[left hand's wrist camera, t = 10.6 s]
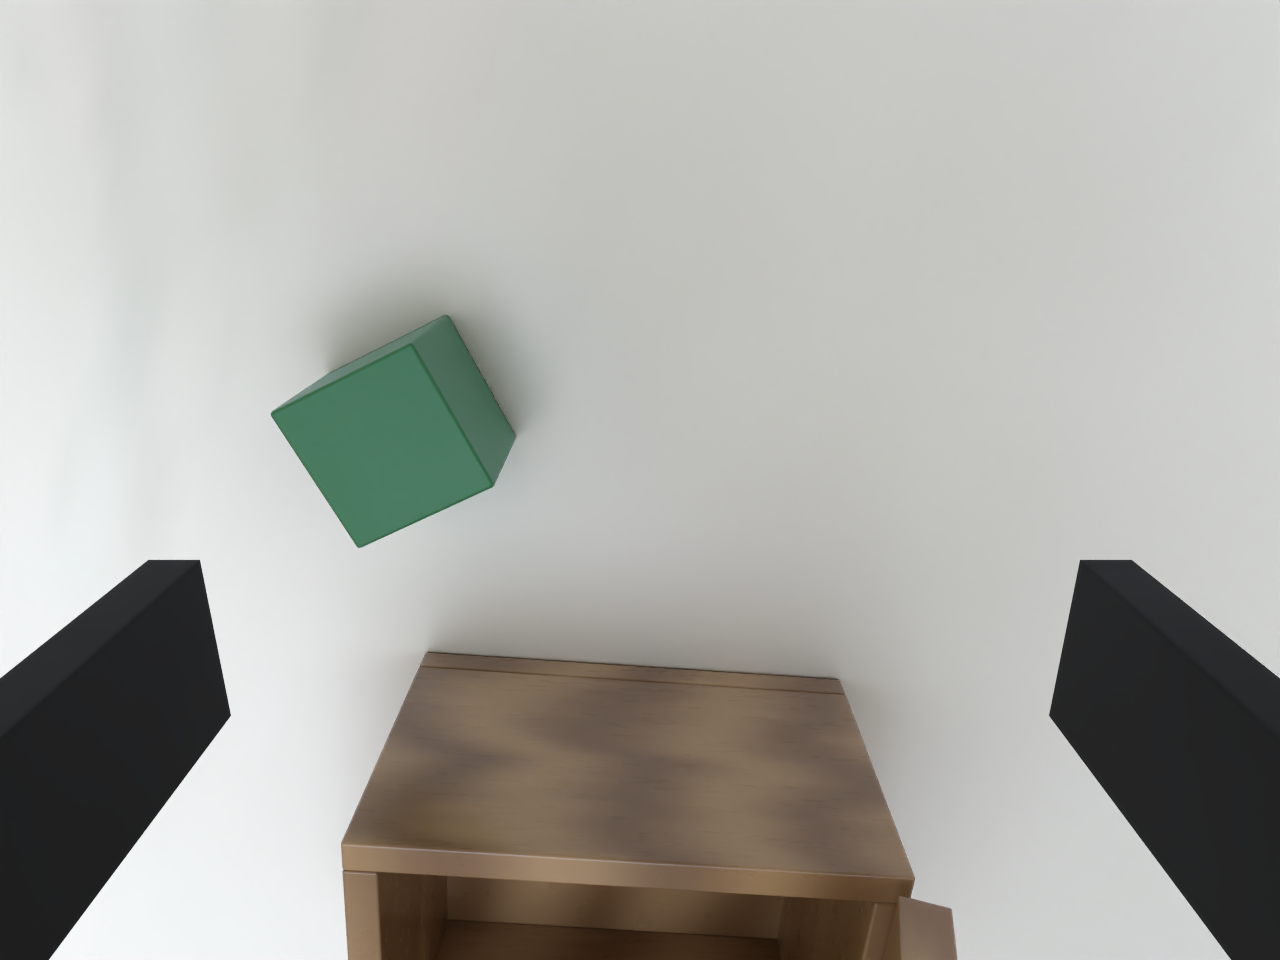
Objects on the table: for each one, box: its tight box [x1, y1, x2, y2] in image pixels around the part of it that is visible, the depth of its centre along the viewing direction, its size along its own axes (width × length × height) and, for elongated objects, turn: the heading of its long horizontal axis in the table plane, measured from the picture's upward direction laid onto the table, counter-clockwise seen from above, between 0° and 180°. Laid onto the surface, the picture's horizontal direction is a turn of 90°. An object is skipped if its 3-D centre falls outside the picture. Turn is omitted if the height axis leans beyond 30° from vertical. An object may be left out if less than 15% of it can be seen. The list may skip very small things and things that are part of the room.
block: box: [271, 315, 516, 548], centre depth 24 cm, size 4×4×4 cm
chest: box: [341, 653, 915, 960], centre depth 27 cm, size 14×12×9 cm
